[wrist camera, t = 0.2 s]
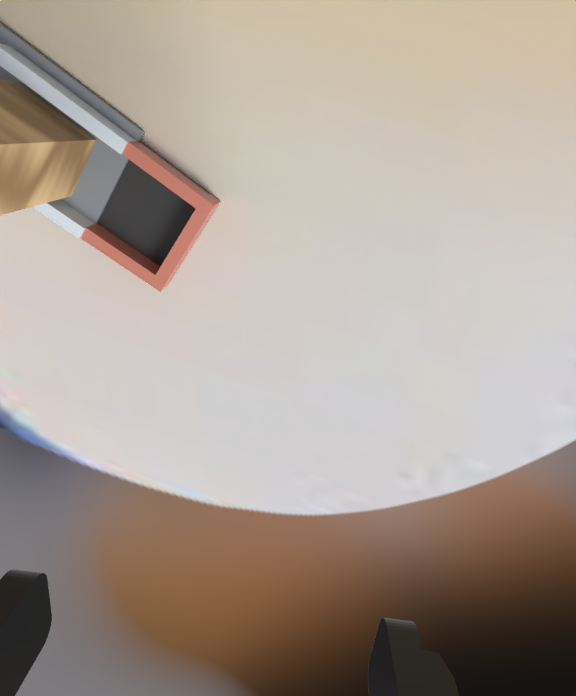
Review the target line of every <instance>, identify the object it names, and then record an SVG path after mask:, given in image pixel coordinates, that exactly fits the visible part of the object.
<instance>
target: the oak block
mask: <svg viewBox="0 0 576 696" xmlns="http://www.w3.org/2000/svg"><path fill="white" fill-rule="evenodd" d="M96 141H97V140H96V139H95V138H94V137H92V136H91V135H90V134H88V133H87V132H85V131H84V130H83V129H81V128H80V127H79V126H77V125H76V124H75V123H73V122H72V121H71V120H69V119H68V118H66V117H65V116H64V115H62V114H61V113H60V112H58V111H57V110H56V109H54V108H53V107H51V106H50V105H49V104H47V103H46V102H45V101H43V100H42V99H41V98H39V97H38V96H36V95H35V94H34V93H32V92H31V91H30V90H28V89H27V88H26V87H24V86H23V85H21V84H20V83H19V82H14V81H7V80H1V79H0V215H2V214H6V213H10V212H14V211H17V210H21V209H25V208H29V207H33V206H36V205H40V204H44V203H48V202H51V201H55V200H59V199H63V198H67V197H70V196H71V195H72V193H73V191H74V189H75V187H76V184H77V182H78V180H79V178H80V176H81V174H82V171H83V169H84V167H85V165H86V163H87V160H88V158H89V156H90V154H91V152H92V150H93V147H94V145H95V143H96Z"/></svg>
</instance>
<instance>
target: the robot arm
mask: <svg viewBox="0 0 576 696" xmlns="http://www.w3.org/2000/svg"><path fill="white" fill-rule="evenodd" d="M51 621H52V614H51V606H50V598H49V590H48V581H47V576H46V574H44V573H37V572H28V571H21V570H10V571H9V572H7V573H6V574H5V575H4V576H3V577H2V578H1V580H0V696H15V695H16V693H17V691H18V690H19V688H20V686H21V684H22V682H23V681H24V679H25V677H26V675H27V674H28V672H29V670H30V669H31V667H32V665H33V663H34V662H35V660H36V658H37V656H38V655H39V653H40V651H41V650H42V648H43V646H44V644H45V642H46V639H47V637H48V634H49V631H50V627H51ZM368 688H369V696H459V693H458V690H457V687H456V683H455V680H454V677H453V676H452V674H451V673H450V671H449V669H448V668H447V666H446V664H445V663H444V661H443V660H442V658H441V657H440V655H439V653H437V652H431V651H424V650H422V647H421V642H420V638H419V634H418V630H417V627H416V625H415V623H414V622H412V621H404V620H397V619H388V618H381V620H380V622H379V626H378V630H377V633H376V637H375V641H374V644H373V648H372V652H371V655H370V659H369V667H368Z"/></svg>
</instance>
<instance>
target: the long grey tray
mask: <svg viewBox="0 0 576 696" xmlns="http://www.w3.org/2000/svg"><path fill="white" fill-rule="evenodd" d="M0 79H1V80H7V81H14V82H19V83H20V84H21V85H23V86H24V87H26V88H27V89H28V90H30V91H31V92H32V93H34V94H35V95H36V96H38V97H39V98H41V99H42V100H43V101H45V102H46V103H47V104H49V105H50V106H51V107H53V108H54V109H56V110H57V111H58V112H60V113H61V114H62V115H64V116H65V117H66V118H68V119H69V120H71V121H72V122H73V123H75V124H76V125H77V126H79V127H80V128H81V129H83V130H84V131H85V132H87V133H88V134H90V135H91V136H92V137H94V138H95V139H96V140H97V141H96V143H95V145H94V147H93V150H92V152H91V154H90V156H89V158H88V160H87V163H86V165H85V167H84V169H83V171H82V174H81V176H80V178H79V180H78V182H77V184H76V187H75V189H74V191H73V193H72V195H71V196H70V197H67V198H63V199H59V200H55V201H51V202H48V203H44V204H40V205H36V206H33V208H34V209H36V210H37V211H39V212H40V213H42V214H43V215H45V216H46V217H48V218H49V219H51V220H52V221H53V222H55V223H56V224H58V225H59V226H61V227H62V228H64V229H65V230H67V231H68V232H70V233H71V234H73V235H74V236H76V237H77V238H81V239H83V240H84V241H86V242H87V243H89V244H90V245H92V246H93V247H95V248H96V249H98V250H99V251H101V252H102V253H104V254H105V255H107V256H108V257H110V258H111V259H113V260H114V261H116V262H117V263H118V264H120V265H121V266H123V267H124V268H126V269H127V270H129V271H130V272H132V273H133V274H135V275H136V276H138V277H139V278H141V279H142V280H144V281H145V282H147V283H148V284H150V285H151V286H153V287H154V288H156V289H157V290H159V291H161V290H163V289H164V288H165V287H166V286H167V285H168V284H169V282H170V281H171V279H172V278H173V276H174V274H175V273H176V271H177V270H178V268H179V267H180V265H181V263H182V262H183V260H184V259H185V257H186V255H187V254H188V252H189V251H190V249H191V248H192V246H193V244H194V243H195V241H196V240H197V238H198V236H199V235H200V233H201V232H202V230H203V228H204V227H205V225H206V224H207V222H208V221H209V219H210V217H211V216H212V214H213V213H214V211H215V209H216V208H217V206H218V205H219V203H220V202H221V201H219V200H218V199H217V198H215V197H214V196H213V195H212V194H210V193H209V192H208V191H206V190H205V189H204V188H202V187H201V186H200V185H198V184H197V183H196V182H194V181H193V180H192V179H190V178H189V177H188V176H186V175H185V174H184V173H182V172H181V171H180V170H178V169H177V168H176V167H174V166H173V165H172V164H170V163H169V162H168V161H166V160H165V159H164V158H162V157H161V156H160V155H158V154H157V153H156V152H154V151H153V150H152V149H150V148H149V147H148V146H146V145H145V144H144V143H142V142H141V141H140V140H141V138H142V136H143V134H144V131H143V130H142V129H140V128H139V127H138V126H136V125H135V124H134V123H132V122H131V121H130V120H128V119H127V118H126V117H124V116H123V115H122V114H120V113H119V112H118V111H117V110H115V109H114V108H113V107H111V106H110V105H109V104H107V103H106V102H105V101H103V100H102V99H101V98H99V97H98V96H97V95H95V94H94V93H93V92H91V91H90V90H89V89H88V88H86V87H85V86H84V85H82V84H81V83H80V82H78V81H77V80H76V79H74V78H73V77H72V76H70V75H69V74H68V73H66V72H65V71H64V70H62V69H61V68H60V67H59V66H57V65H56V64H55V63H53V62H52V61H51V60H49V59H48V58H47V57H45V56H44V55H43V54H41V53H40V52H39V51H37V50H36V49H35V48H33V47H32V46H31V45H30V44H28V43H27V42H26V41H24V40H23V39H22V38H20V37H19V36H18V35H16V34H15V33H14V32H12V31H11V30H10V29H8V28H7V27H6V26H5V25H3V24H2V23H1V22H0Z"/></svg>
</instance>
